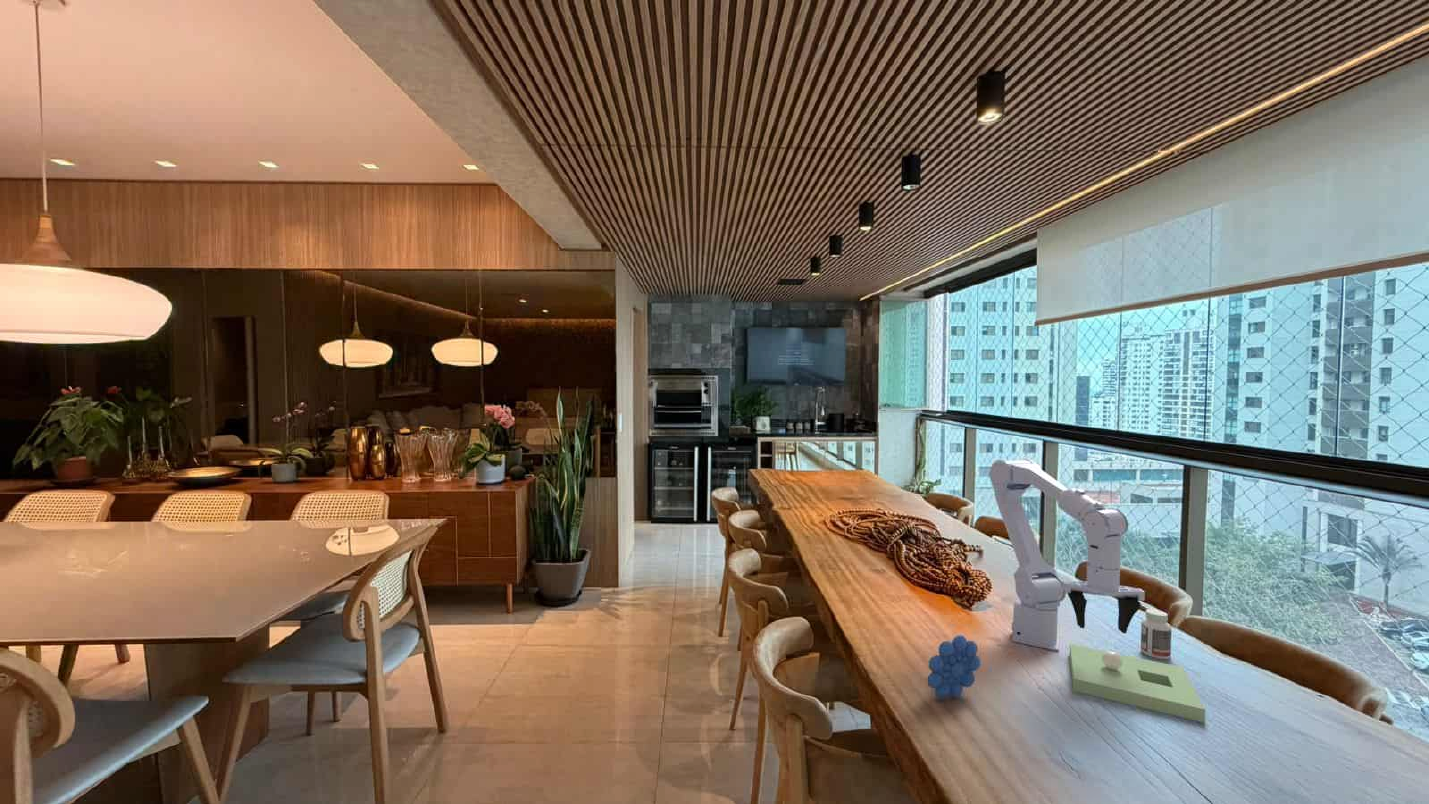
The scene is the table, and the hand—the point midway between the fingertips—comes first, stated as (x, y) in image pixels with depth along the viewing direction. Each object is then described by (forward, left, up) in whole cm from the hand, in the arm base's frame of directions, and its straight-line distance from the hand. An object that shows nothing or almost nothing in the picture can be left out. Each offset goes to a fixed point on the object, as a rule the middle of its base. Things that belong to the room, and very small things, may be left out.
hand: (1101, 628), depth 117 cm
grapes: (-26, -27, -10) cm, 39 cm away
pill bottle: (+12, +17, -10) cm, 23 cm away
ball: (+2, -3, -5) cm, 6 cm away
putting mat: (+5, -3, -10) cm, 11 cm away
